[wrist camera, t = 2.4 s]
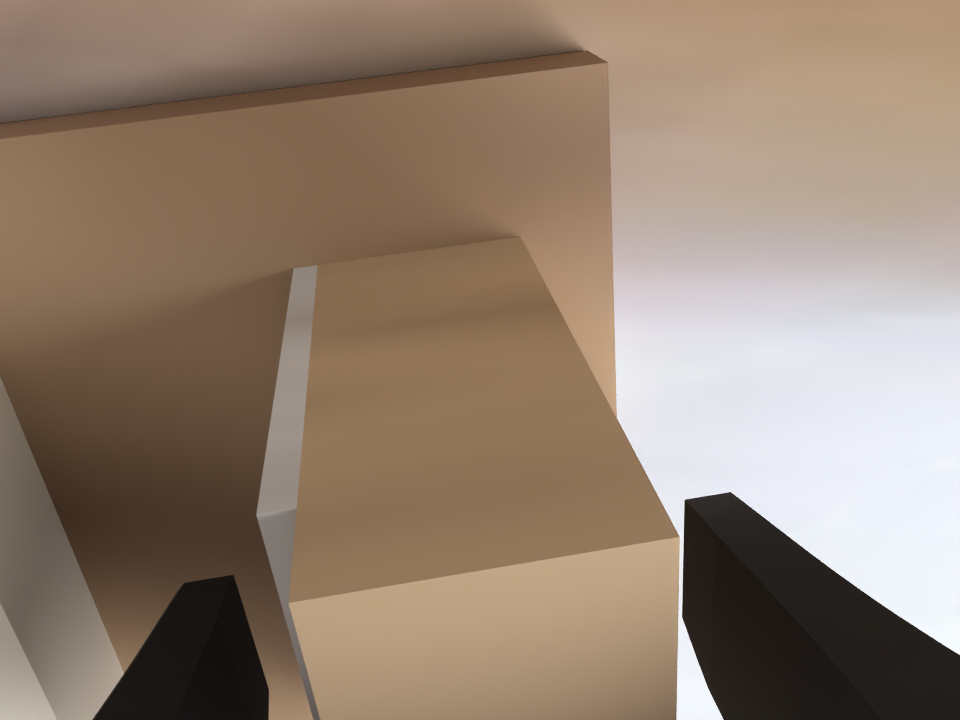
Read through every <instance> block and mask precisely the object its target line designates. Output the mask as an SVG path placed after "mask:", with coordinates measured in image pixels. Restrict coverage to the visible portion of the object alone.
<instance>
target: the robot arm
mask: <svg viewBox="0 0 960 720" xmlns="http://www.w3.org/2000/svg"><path fill="white" fill-rule="evenodd" d="M682 618H683V620H684V623H685V626H686V629H687V632H688V634H689V637H690V640H691V643H692V646H693V648H694V651H695V654H696V657H697V660H698V662H699V665H700V667H701V670H702V673H703V675H704V678H705V681H706V683H707V686H708V688H709V691H710V693H711V695H712V697H713V699H714V701H715V703H716V705H717V707H718V709H719V711H720V713H721V715H722V717H723V719H724V720H960V655H959V654H957V653H955V652H954V651H952V650H950V649H949V648H947V647H946V646H944V645H942V644H941V643H939V642H938V641H936V640H935V639H933V638H932V637H930V636H928V635H927V634H925V633H924V632H922V631H921V630H919V629H918V628H916V627H914V626H913V625H911V624H910V623H908V622H907V621H905V620H904V619H902V618H900V617H899V616H897V615H896V614H894V613H893V612H892V611H890V610H889V609H887V608H886V607H884V606H883V605H881V604H880V603H878V602H877V601H875V600H874V599H872V598H871V597H870V596H868V595H867V594H865V593H864V592H862V591H861V590H860V589H858V588H857V587H855V586H854V585H853V584H851V583H850V582H849V581H847V580H846V579H844V578H843V577H842V576H840V575H839V574H837V573H836V572H835V571H833V570H832V569H830V568H829V567H828V566H826V565H825V564H824V563H822V562H821V561H820V560H818V559H817V558H816V557H814V556H813V555H812V554H810V553H809V552H808V551H806V550H805V549H804V548H803V547H801V546H800V545H799V544H797V543H796V542H795V541H793V540H792V539H791V538H789V537H788V536H787V535H786V534H784V533H783V532H782V531H780V530H779V529H778V528H776V527H775V526H774V525H773V524H771V523H770V522H769V521H767V520H766V519H765V518H763V517H762V516H761V515H760V514H758V513H757V512H756V511H754V510H753V509H752V508H751V507H749V506H748V505H747V504H745V503H744V502H743V501H741V500H740V499H739V498H737V497H736V496H735V495H734V494H732V493H731V492H729V493H723V494H717V495H711V496H705V497H699V498H693V499H687V500H685V513H684V559H683V606H682ZM92 720H269V688H268V685H267V681H266V678H265V675H264V672H263V668H262V665H261V662H260V659H259V655H258V652H257V649H256V646H255V642H254V639H253V636H252V633H251V629H250V626H249V623H248V620H247V616H246V613H245V610H244V607H243V603H242V600H241V597H240V594H239V590H238V587H237V584H236V581H235V577H234V575H228V576H222V577H216V578H210V579H204V580H198V581H192V582H186V583H184V584H183V585H182V586H181V587H180V589H179V590H178V591H177V593H176V594H175V596H174V597H173V599H172V600H171V602H170V603H169V605H168V607H167V608H166V610H165V611H164V613H163V614H162V616H161V617H160V619H159V621H158V622H157V624H156V625H155V627H154V628H153V630H152V632H151V633H150V635H149V636H148V638H147V639H146V641H145V642H144V644H143V645H142V647H141V649H140V650H139V652H138V653H137V655H136V656H135V658H134V659H133V661H132V662H131V664H130V665H129V667H128V668H127V670H126V671H125V673H124V674H123V676H122V677H121V679H120V680H119V682H118V683H117V685H116V686H115V688H114V689H113V690H112V692H111V693H110V695H109V696H108V698H107V699H106V701H105V702H104V703H103V705H102V706H101V708H100V709H99V711H98V712H97V714H96V715H95V716H94V718H93V719H92Z"/></svg>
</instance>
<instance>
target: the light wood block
mask: <svg viewBox="0 0 960 720" xmlns="http://www.w3.org/2000/svg"><path fill="white" fill-rule="evenodd" d="M256 515H257V519H258V523H259V526H260V530H261V533H262V537H263V540H264V544H265V548H266V551H267V555H268V558H269V562H270V566H271V569H272V573H273V576H274V580H275V584H276V587H277V591H278V594H279V598H280V602H281V605H282V609H283V612H284V616H285V620H286V623H287V627H288V630H289V634H290V638H291V641H292V645H293V648H294V652H295V655H296V659H297V663H298V666H299V670H300V673H301V677H302V681H303V684H304V688H305V691H306V695H307V699H308V702H309V706H310V709H311V713H312V717H313V720H676V703H677V648H678V593H679V538H680V537H679V535H678V533H677V531H676V529H675V527H674V526H673V524H672V522H671V520H670V518H669V516H668V514H667V512H666V510H665V509H664V507H663V505H662V503H661V501H660V499H659V497H658V495H657V493H656V492H655V490H654V488H653V486H652V484H651V482H650V480H649V478H648V476H647V475H646V473H645V471H644V469H643V467H642V465H641V463H640V461H639V459H638V458H637V456H636V454H635V452H634V450H633V448H632V446H631V444H630V442H629V441H628V439H627V437H626V435H625V433H624V431H623V429H622V427H621V425H620V424H619V422H618V420H617V418H616V416H615V414H614V412H613V410H612V408H611V407H610V405H609V403H608V401H607V399H606V397H605V395H604V393H603V391H602V390H601V388H600V386H599V384H598V382H597V380H596V378H595V376H594V374H593V373H592V371H591V369H590V367H589V365H588V363H587V361H586V359H585V357H584V356H583V354H582V352H581V350H580V348H579V346H578V344H577V342H576V340H575V339H574V337H573V335H572V333H571V331H570V329H569V327H568V325H567V323H566V322H565V320H564V318H563V316H562V314H561V312H560V310H559V308H558V306H557V304H556V303H555V301H554V299H553V297H552V295H551V293H550V291H549V289H548V287H547V286H546V284H545V282H544V280H543V278H542V276H541V274H540V272H539V270H538V269H537V267H536V265H535V263H534V261H533V259H532V257H531V255H530V253H529V252H528V250H527V248H526V246H525V244H524V242H523V240H522V238H521V237H514V238H506V239H499V240H492V241H485V242H478V243H471V244H464V245H456V246H449V247H442V248H435V249H428V250H421V251H414V252H407V253H399V254H392V255H385V256H378V257H371V258H364V259H357V260H350V261H342V262H335V263H328V264H321V265H314V266H307V267H300V268H294V269H293V276H292V282H291V289H290V295H289V302H288V309H287V315H286V322H285V328H284V335H283V342H282V348H281V355H280V361H279V368H278V375H277V381H276V388H275V394H274V401H273V408H272V414H271V421H270V427H269V434H268V441H267V447H266V454H265V460H264V467H263V474H262V480H261V487H260V493H259V500H258V507H257V513H256Z"/></svg>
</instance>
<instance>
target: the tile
mask: <svg viewBox="0 0 960 720" xmlns="http://www.w3.org/2000/svg"><path fill="white" fill-rule="evenodd" d="M123 674H124V672H123V670H122V667H121V665H120V662H119V660H118V658H117V655H116V653H115V650H114V648H113V646H112V643H111V641H110V638H109V636H108V634H107V631H106V629H105V626H104V624H103V622H102V619H101V617H100V615H99V612H98V610H97V607H96V605H95V603H94V600H93V598H92V595H91V593H90V591H89V588H88V586H87V583H86V581H85V579H84V576H83V574H82V571H81V569H80V567H79V564H78V562H77V559H76V557H75V555H74V552H73V550H72V547H71V545H70V543H69V540H68V538H67V535H66V533H65V531H64V528H63V526H62V523H61V521H60V519H59V516H58V514H57V511H56V509H55V507H54V504H53V502H52V499H51V497H50V495H49V492H48V490H47V487H46V485H45V483H44V480H43V478H42V476H41V473H40V471H39V468H38V466H37V464H36V461H35V459H34V456H33V454H32V452H31V449H30V447H29V444H28V442H27V440H26V437H25V435H24V432H23V430H22V428H21V425H20V423H19V420H18V418H17V416H16V413H15V411H14V408H13V406H12V404H11V401H10V399H9V396H8V394H7V392H6V389H5V387H4V384H3V382H2V380H1V377H0V720H92V719H93V718H94V716H95V715H96V714H97V712H98V711H99V709H100V708H101V706H102V705H103V703H104V702H105V701H106V699H107V698H108V696H109V695H110V693H111V692H112V690H113V689H114V688H115V686H116V685H117V683H118V682H119V680H120V679H121V677H122V676H123Z"/></svg>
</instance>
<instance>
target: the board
mask: <svg viewBox="0 0 960 720" xmlns="http://www.w3.org/2000/svg"><path fill="white" fill-rule="evenodd" d="M514 237H521V238H522V240H523V242H524V244H525V246H526V248H527V250H528V252H529V253H530V255H531V257H532V259H533V261H534V263H535V265H536V267H537V269H538V270H539V272H540V274H541V276H542V278H543V280H544V282H545V284H546V286H547V287H548V289H549V291H550V293H551V295H552V297H553V299H554V301H555V303H556V304H557V306H558V308H559V310H560V312H561V314H562V316H563V318H564V320H565V322H566V323H567V325H568V327H569V329H570V331H571V333H572V335H573V337H574V339H575V340H576V342H577V344H578V346H579V348H580V350H581V352H582V354H583V356H584V357H585V359H586V361H587V363H588V365H589V367H590V369H591V371H592V373H593V374H594V376H595V378H596V380H597V382H598V384H599V386H600V388H601V390H602V391H603V393H604V395H605V397H606V399H607V401H608V403H609V405H610V407H611V408H612V410H613V412H614V414H615V416H616V418H617V414H616V373H615V332H614V292H613V251H612V210H611V169H610V128H609V87H608V62H606V61H604V60H602V59H601V58H599V57H597V56H596V55H594V54H592V53H591V52H589V51H579V52H571V53H563V54H555V55H547V56H539V57H531V58H523V59H515V60H507V61H499V62H491V63H483V64H475V65H467V66H459V67H451V68H443V69H435V70H427V71H419V72H411V73H403V74H395V75H387V76H379V77H371V78H363V79H355V80H347V81H339V82H331V83H323V84H315V85H306V86H298V87H290V88H282V89H274V90H266V91H258V92H250V93H242V94H234V95H226V96H218V97H210V98H202V99H194V100H186V101H178V102H170V103H162V104H154V105H146V106H138V107H130V108H122V109H114V110H106V111H98V112H90V113H82V114H74V115H66V116H58V117H50V118H42V119H34V120H26V121H18V122H10V123H2V124H0V377H1V380H2V382H3V384H4V387H5V389H6V392H7V394H8V396H9V399H10V401H11V404H12V406H13V408H14V411H15V413H16V416H17V418H18V420H19V423H20V425H21V428H22V430H23V432H24V435H25V437H26V440H27V442H28V444H29V447H30V449H31V452H32V454H33V456H34V459H35V461H36V464H37V466H38V468H39V471H40V473H41V476H42V478H43V480H44V483H45V485H46V487H47V490H48V492H49V495H50V497H51V499H52V502H53V504H54V507H55V509H56V511H57V514H58V516H59V519H60V521H61V523H62V526H63V528H64V531H65V533H66V535H67V538H68V540H69V543H70V545H71V547H72V550H73V552H74V555H75V557H76V559H77V562H78V564H79V567H80V569H81V571H82V574H83V576H84V579H85V581H86V583H87V586H88V588H89V591H90V593H91V595H92V598H93V600H94V603H95V605H96V607H97V610H98V612H99V615H100V617H101V619H102V622H103V624H104V626H105V629H106V631H107V634H108V636H109V638H110V641H111V643H112V646H113V648H114V650H115V653H116V655H117V658H118V660H119V662H120V665H121V667H122V670H123V672H124V673H125V671H126V670H127V668H128V667H129V665H130V664H131V662H132V661H133V659H134V658H135V656H136V655H137V653H138V652H139V650H140V649H141V647H142V645H143V644H144V642H145V641H146V639H147V638H148V636H149V635H150V633H151V632H152V630H153V628H154V627H155V625H156V624H157V622H158V621H159V619H160V617H161V616H162V614H163V613H164V611H165V610H166V608H167V607H168V605H169V603H170V602H171V600H172V599H173V597H174V596H175V594H176V593H177V591H178V590H179V589H180V587H181V586H182V585H183V584H184V583H186V582H192V581H198V580H204V579H210V578H216V577H222V576H228V575H234V577H235V581H236V584H237V587H238V590H239V594H240V597H241V600H242V603H243V607H244V610H245V613H246V616H247V620H248V623H249V626H250V629H251V633H252V636H253V639H254V642H255V646H256V649H257V652H258V655H259V659H260V662H261V665H262V668H263V672H264V675H265V678H266V681H267V685H268V688H269V720H313V717H312V713H311V709H310V706H309V702H308V699H307V695H306V691H305V688H304V684H303V681H302V677H301V673H300V670H299V666H298V663H297V659H296V655H295V652H294V648H293V645H292V641H291V638H290V634H289V630H288V627H287V623H286V620H285V616H284V612H283V609H282V605H281V602H280V598H279V594H278V591H277V587H276V584H275V580H274V576H273V573H272V569H271V566H270V562H269V558H268V555H267V551H266V548H265V544H264V540H263V537H262V533H261V530H260V526H259V523H258V519H257V515H256V513H257V507H258V500H259V493H260V487H261V480H262V474H263V467H264V460H265V454H266V447H267V441H268V434H269V427H270V421H271V414H272V408H273V401H274V394H275V388H276V381H277V375H278V368H279V361H280V355H281V348H282V342H283V335H284V328H285V322H286V315H287V309H288V302H289V295H290V289H291V282H292V276H293V269H294V268H300V267H307V266H314V265H321V264H328V263H335V262H342V261H350V260H357V259H364V258H371V257H378V256H385V255H392V254H399V253H407V252H414V251H421V250H428V249H435V248H442V247H449V246H456V245H464V244H471V243H478V242H485V241H492V240H499V239H506V238H514Z"/></svg>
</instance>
